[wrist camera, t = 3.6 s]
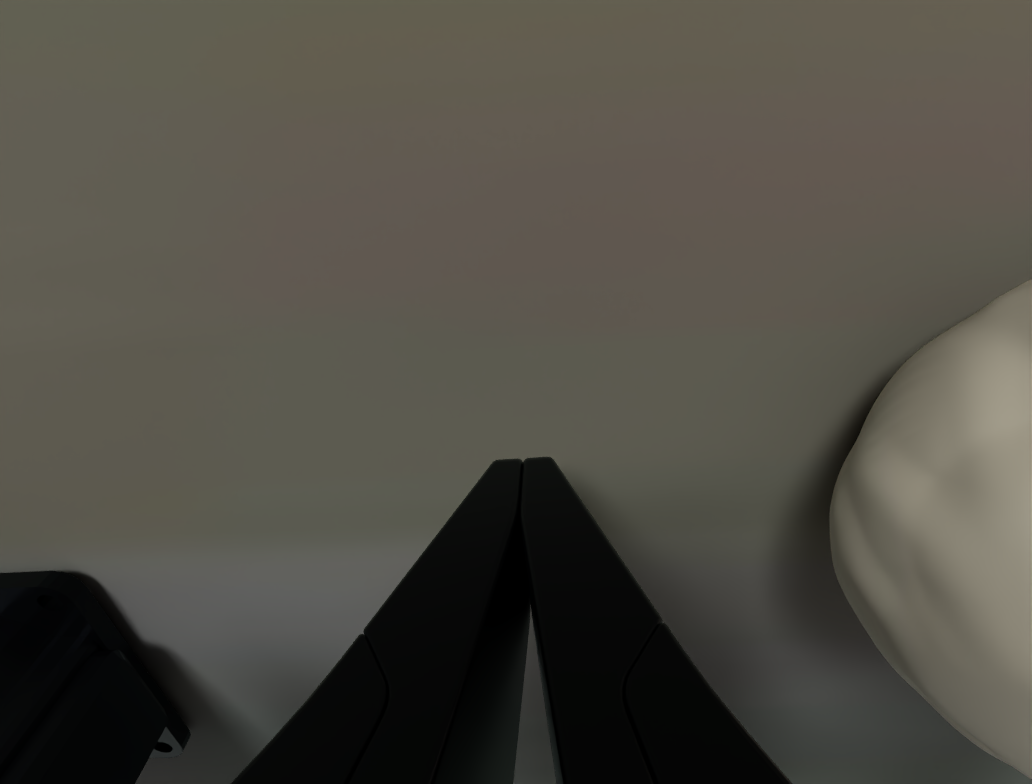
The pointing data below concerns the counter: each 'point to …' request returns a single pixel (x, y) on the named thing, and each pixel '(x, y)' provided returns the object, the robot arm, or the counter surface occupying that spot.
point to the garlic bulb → (950, 526)
